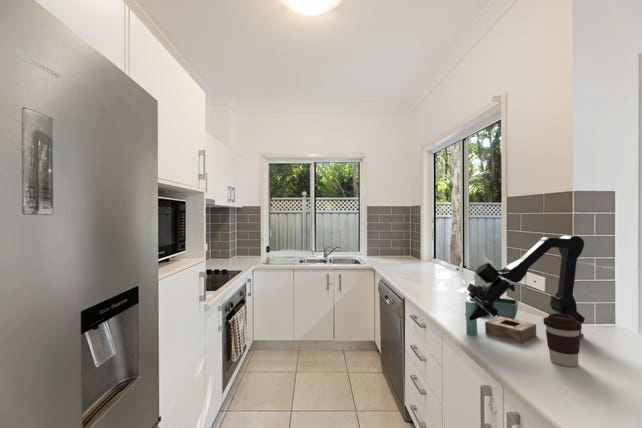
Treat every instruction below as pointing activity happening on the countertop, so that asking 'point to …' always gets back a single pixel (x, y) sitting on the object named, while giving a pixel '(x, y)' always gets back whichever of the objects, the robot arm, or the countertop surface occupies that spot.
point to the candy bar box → (481, 282)
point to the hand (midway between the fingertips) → (467, 317)
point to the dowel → (470, 324)
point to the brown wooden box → (511, 329)
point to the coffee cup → (563, 338)
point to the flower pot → (506, 308)
